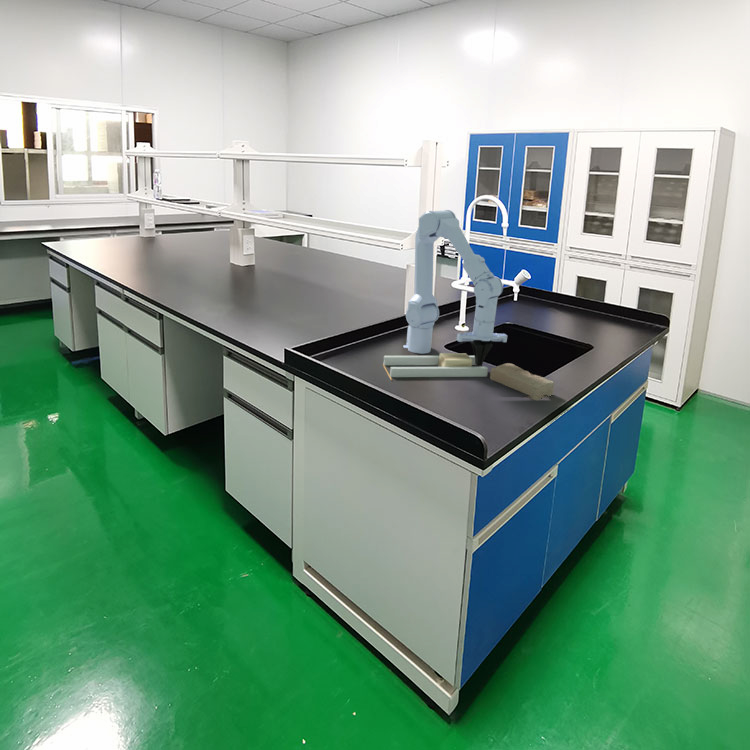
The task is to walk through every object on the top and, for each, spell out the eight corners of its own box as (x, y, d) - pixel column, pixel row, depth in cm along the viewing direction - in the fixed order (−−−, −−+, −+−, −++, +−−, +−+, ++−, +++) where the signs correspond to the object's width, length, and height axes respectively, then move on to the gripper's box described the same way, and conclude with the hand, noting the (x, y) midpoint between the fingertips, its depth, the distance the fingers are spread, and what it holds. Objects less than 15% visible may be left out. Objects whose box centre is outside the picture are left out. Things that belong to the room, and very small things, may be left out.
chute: (382, 365, 176) (383, 355, 175) (473, 365, 182) (474, 355, 180) (391, 380, 165) (391, 369, 164) (487, 379, 171) (488, 369, 169)
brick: (554, 396, 163) (557, 380, 161) (535, 402, 158) (537, 385, 156) (506, 377, 175) (508, 362, 173) (487, 382, 170) (489, 367, 168)
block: (438, 366, 176) (439, 353, 175) (464, 366, 178) (465, 353, 176) (444, 373, 171) (445, 360, 169) (470, 373, 172) (472, 360, 171)
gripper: (464, 323, 165) (459, 369, 170) (513, 324, 168) (507, 369, 173) (456, 316, 172) (451, 361, 177) (504, 317, 174) (498, 361, 179)
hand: (478, 364), depth 175 cm, fingers closed
